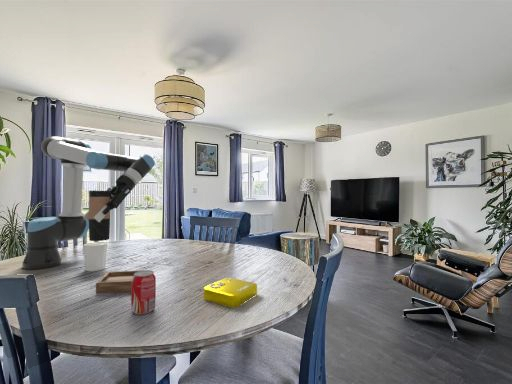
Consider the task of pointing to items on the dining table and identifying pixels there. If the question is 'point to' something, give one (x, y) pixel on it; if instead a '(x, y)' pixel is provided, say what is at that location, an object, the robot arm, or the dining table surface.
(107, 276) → the tray
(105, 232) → the travel mug
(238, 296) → the element tile
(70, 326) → the dining table surface
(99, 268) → the candle holder
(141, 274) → the soda can
